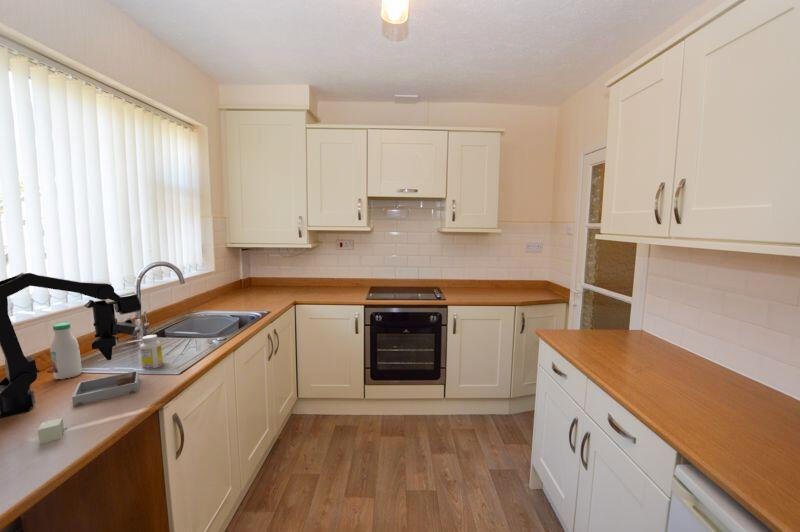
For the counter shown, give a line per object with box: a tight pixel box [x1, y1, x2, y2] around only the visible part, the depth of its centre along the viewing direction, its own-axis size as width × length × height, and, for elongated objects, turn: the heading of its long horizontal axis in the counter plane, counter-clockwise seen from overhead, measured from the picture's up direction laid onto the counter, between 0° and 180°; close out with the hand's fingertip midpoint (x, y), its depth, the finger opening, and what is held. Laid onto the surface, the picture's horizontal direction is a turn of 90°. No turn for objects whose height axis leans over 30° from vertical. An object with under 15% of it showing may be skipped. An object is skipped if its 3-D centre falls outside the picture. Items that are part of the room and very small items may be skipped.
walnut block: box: [117, 372, 133, 386], centre depth 118 cm, size 4×4×4 cm
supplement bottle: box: [139, 334, 164, 370], centre depth 136 cm, size 7×7×13 cm
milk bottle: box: [49, 322, 83, 380], centre depth 128 cm, size 8×8×20 cm
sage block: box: [37, 417, 65, 445], centre depth 92 cm, size 4×4×4 cm
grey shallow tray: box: [71, 370, 140, 407], centre depth 116 cm, size 16×13×4 cm
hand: (109, 359), depth 124 cm, fingers closed
